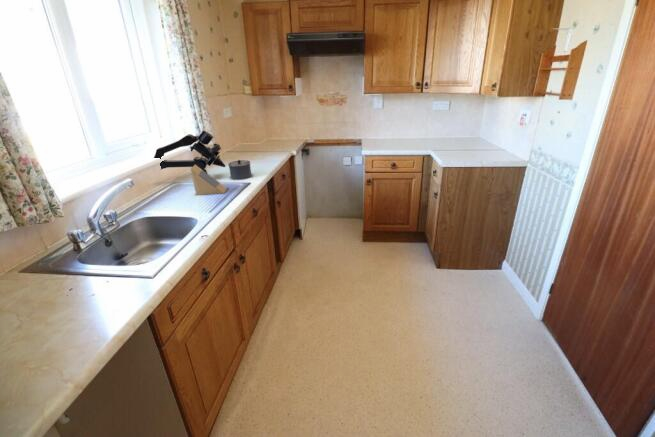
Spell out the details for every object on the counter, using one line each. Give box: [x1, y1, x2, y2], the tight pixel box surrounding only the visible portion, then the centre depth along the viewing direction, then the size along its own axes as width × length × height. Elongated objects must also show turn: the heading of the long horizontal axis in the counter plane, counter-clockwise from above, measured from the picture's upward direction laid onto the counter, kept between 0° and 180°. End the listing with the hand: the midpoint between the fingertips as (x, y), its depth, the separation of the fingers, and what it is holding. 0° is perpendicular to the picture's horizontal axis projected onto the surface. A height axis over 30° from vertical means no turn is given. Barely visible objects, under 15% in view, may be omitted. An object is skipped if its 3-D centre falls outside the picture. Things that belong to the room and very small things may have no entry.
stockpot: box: [227, 159, 253, 180], centre depth 204 cm, size 14×14×11 cm
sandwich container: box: [190, 165, 228, 196], centre depth 177 cm, size 9×15×15 cm, turn 94°
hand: (225, 166), depth 202 cm, fingers closed
